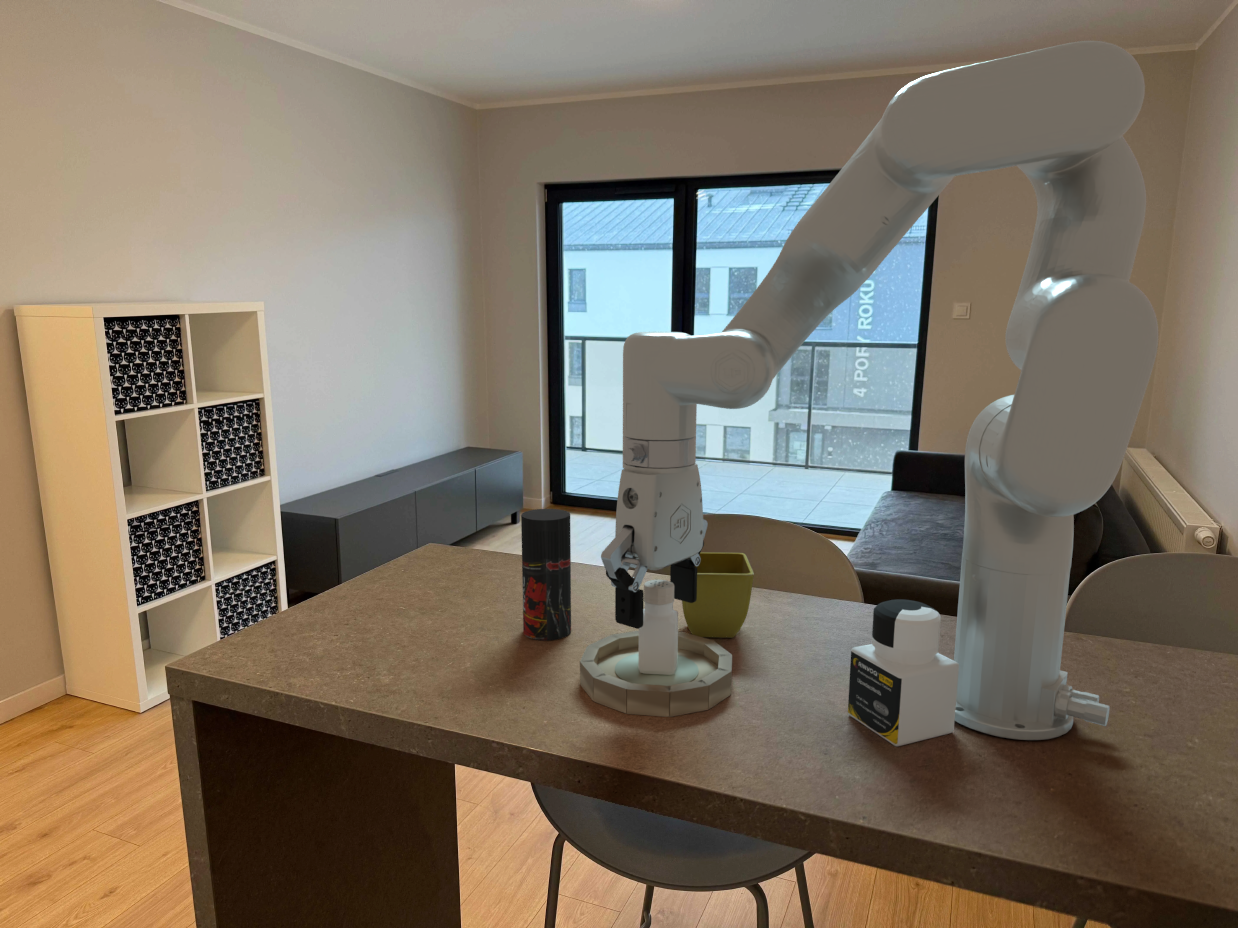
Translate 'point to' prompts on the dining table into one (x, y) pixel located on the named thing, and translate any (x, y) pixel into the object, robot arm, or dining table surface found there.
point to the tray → (656, 676)
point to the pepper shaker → (658, 630)
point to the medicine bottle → (903, 676)
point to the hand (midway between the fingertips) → (657, 611)
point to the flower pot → (720, 595)
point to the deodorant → (546, 574)
